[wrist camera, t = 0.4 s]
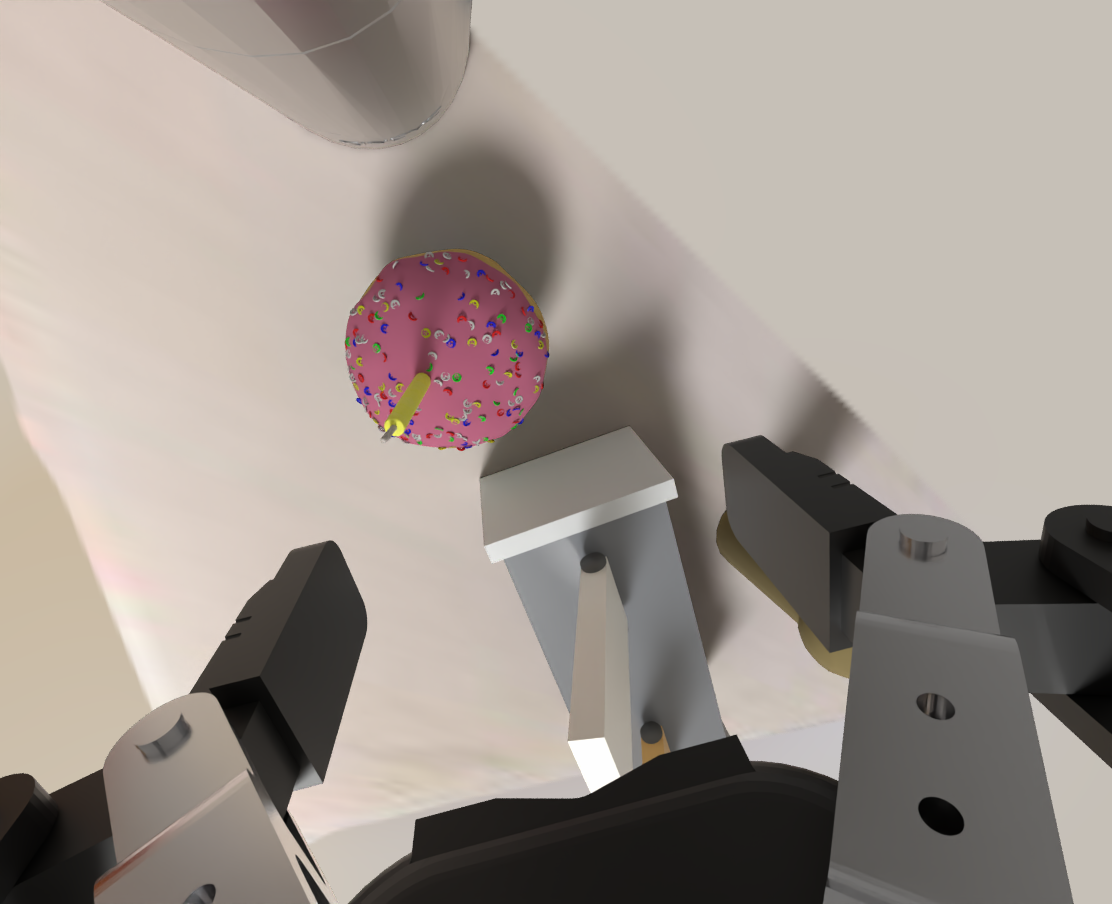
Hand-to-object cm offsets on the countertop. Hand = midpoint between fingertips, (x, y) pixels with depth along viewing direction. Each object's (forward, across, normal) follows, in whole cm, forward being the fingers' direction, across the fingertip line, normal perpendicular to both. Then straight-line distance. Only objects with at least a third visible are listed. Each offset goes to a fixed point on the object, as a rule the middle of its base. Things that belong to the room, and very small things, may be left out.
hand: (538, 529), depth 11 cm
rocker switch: (+11, -2, +11) cm, 16 cm away
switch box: (+18, -2, +17) cm, 25 cm away
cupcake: (+18, +2, -1) cm, 19 cm away
